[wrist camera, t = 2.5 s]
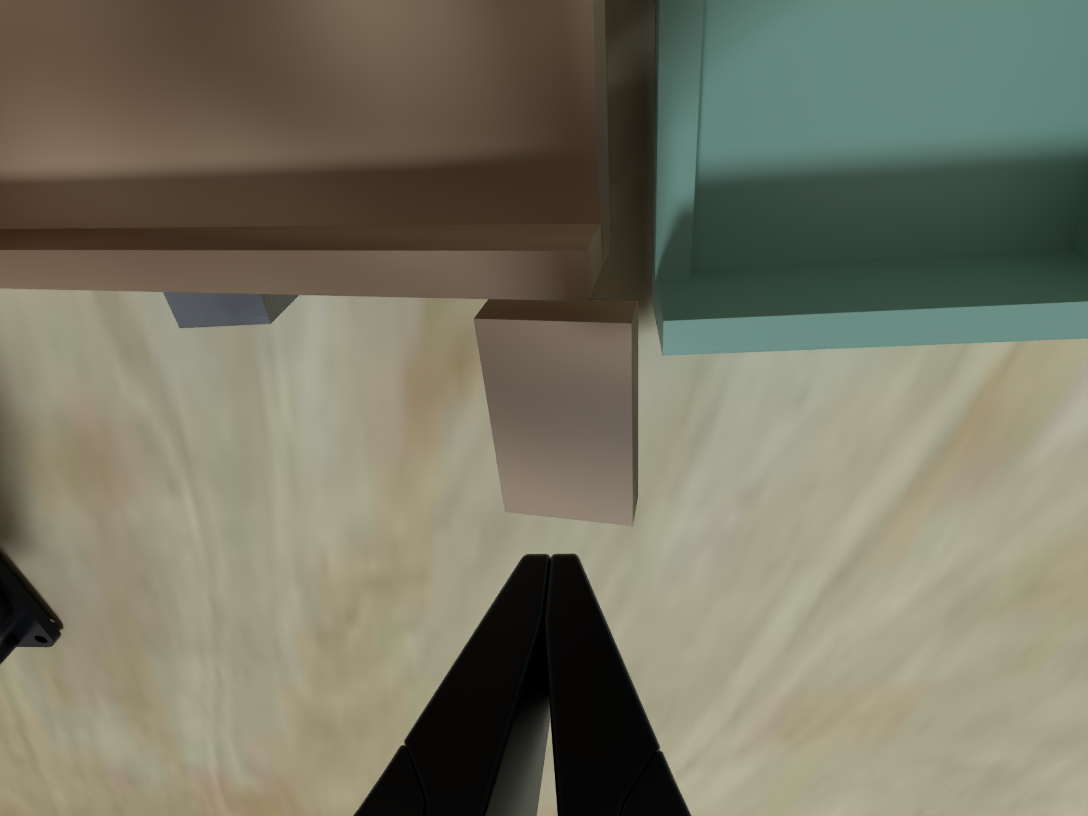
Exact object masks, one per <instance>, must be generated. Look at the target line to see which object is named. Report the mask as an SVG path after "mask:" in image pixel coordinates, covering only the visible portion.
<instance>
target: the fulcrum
mask: <svg viewBox="0 0 1088 816" xmlns="http://www.w3.org/2000/svg"><path fill="white" fill-rule="evenodd" d="M163 293H164V295H165V297H166V299H167V301H168V304H169V306H170V308H171V310H172V312H173V315H174V317H175V319H176V321H177V323H178V325H179V328H193V327H213V326H234V325H254V324H271V323H272V322H273V321H274V320H275V319H276V318H277V317H278V316H279V315H280V314H281V313H282V312H283V311H284V310H285V309H286V308H287V307H288V306H289V305H290V304H291V303H292V302H293V301H294V300H295V299H296V298H297V297H298V296H299V295H286V294H240V293H195V292H163Z"/></svg>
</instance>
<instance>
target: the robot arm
mask: <svg viewBox="0 0 1088 816" xmlns="http://www.w3.org/2000/svg"><path fill="white" fill-rule="evenodd" d="M60 636H61V633H60V631H59V630H58V629H57V627H56V626H55V625H54V624H53V623H52V621H51V620H50V619H49V618H48V617H47V615H46V614H45V613H44V612H43V611H42V609H41V608H40V607H39V606H38V605H37V603H36V602H35V601H34V600H33V599H32V597H31V596H30V595H29V594H28V592H27V591H26V590H25V589H24V588H23V586H22V585H21V584H20V583H19V582H18V580H17V579H16V578H15V577H14V576H13V574H12V573H11V572H10V571H9V570H8V568H7V567H6V566H5V565H4V564H3V562H2V561H1V560H0V665H1V663H2V662H3V661H4V660H5V659H6V658H7V657H8V656H9V654H10V653H11V652H12V651H13V650H14V649H15V648H16V647H51V646H53V645H54V644H55V642H56V641H57V640H58V639H59V638H60ZM550 718H551V731H552V744H553V758H554V771H555V784H556V797H557V811H558V816H691V814H690V812H689V810H688V808H687V805H686V803H685V801H684V799H683V797H682V795H681V793H680V790H679V788H678V786H677V784H676V782H675V780H674V777H673V775H672V773H671V770H670V768H669V766H668V764H667V761H666V759H665V757H664V754H663V752H662V751H660V746H659V743H658V741H657V739H656V736H655V734H654V732H653V729H652V727H651V725H650V722H649V720H648V718H647V715H646V713H645V711H644V708H643V706H642V704H641V701H640V699H639V697H638V694H637V692H636V690H635V687H634V685H633V683H632V680H631V678H630V676H629V673H628V671H627V669H626V666H625V664H624V662H623V659H622V657H621V655H620V652H619V650H618V648H617V645H616V643H615V641H614V638H613V636H612V634H611V631H610V629H609V627H608V624H607V622H606V620H605V617H604V615H603V613H602V610H601V608H600V606H599V603H598V601H597V599H596V596H595V594H594V592H593V589H592V587H591V585H590V582H589V580H588V578H587V575H586V573H585V571H584V568H583V566H582V564H581V562H580V559H579V557H578V556H577V555H576V554H554V555H552V557H550V556H549V555H547V554H527V555H525V556H523V557H522V559H521V560H520V562H519V563H518V565H517V566H516V568H515V569H514V571H513V572H512V574H511V576H510V577H509V579H508V580H507V582H506V583H505V585H504V586H503V588H502V590H501V591H500V593H499V594H498V596H497V597H496V599H495V600H494V602H493V604H492V605H491V607H490V608H489V610H488V611H487V613H486V614H485V616H484V617H483V619H482V621H481V622H480V624H479V625H478V627H477V628H476V630H475V631H474V633H473V635H472V636H471V638H470V639H469V641H468V642H467V644H466V645H465V647H464V649H463V650H462V652H461V653H460V655H459V656H458V658H457V659H456V661H455V663H454V664H453V666H452V667H451V669H450V670H449V672H448V673H447V675H446V676H445V678H444V680H443V681H442V683H441V684H440V686H439V687H438V689H437V690H436V692H435V694H434V695H433V697H432V698H431V700H430V701H429V703H428V704H427V706H426V708H425V709H424V711H423V712H422V714H421V715H420V717H419V718H418V720H417V722H416V723H415V725H414V726H413V728H412V729H411V731H410V732H409V734H408V736H407V737H406V739H405V741H404V743H405V745H402V746H400V747H399V749H398V751H397V752H396V754H395V755H394V757H393V758H392V760H391V762H390V763H389V765H388V766H387V768H386V769H385V771H384V772H383V774H382V775H381V777H380V778H379V780H378V781H377V783H376V784H375V786H374V787H373V788H372V790H371V791H370V793H369V794H368V796H367V797H366V799H365V800H364V802H363V803H362V805H361V806H360V807H359V809H358V810H357V812H356V813H355V814H354V815H353V816H537V809H538V802H539V794H540V787H541V780H542V773H543V766H544V759H545V751H546V744H547V737H548V730H549V723H550Z"/></svg>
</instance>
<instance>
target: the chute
mask: <svg viewBox="0 0 1088 816" xmlns="http://www.w3.org/2000/svg"><path fill="white" fill-rule="evenodd" d="M610 251H611V232H610V192H609V151H608V110H607V69H606V29H605V0H0V288H13V289H59V290H104V291H149V292H195V293H240V294H286V295H331V296H376V297H422V298H467V299H488V301H487V302H486V303H485V305H484V306H483V307H482V309H481V310H480V311H479V313H478V314H477V315H476V317H475V318H474V322H475V329H476V335H477V341H478V347H479V353H480V359H481V366H482V372H483V378H484V384H485V390H486V396H487V403H488V409H489V415H490V421H491V427H492V433H493V440H494V446H495V452H496V458H497V464H498V471H499V477H500V483H501V489H502V495H503V501H504V508H505V512H512V513H521V514H530V515H539V516H548V517H556V518H565V519H574V520H583V521H592V522H601V523H610V524H619V525H628V526H633V522H634V516H635V510H636V505H637V499H638V300H597V299H590V296H591V294H592V292H593V289H594V287H595V285H596V283H597V280H598V278H599V276H600V273H601V271H602V269H603V267H604V264H605V262H606V260H607V257H608V255H609V253H610Z"/></svg>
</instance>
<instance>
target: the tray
mask: <svg viewBox="0 0 1088 816" xmlns="http://www.w3.org/2000/svg"><path fill="white" fill-rule="evenodd" d="M652 303H653V308H654V313H655V318H656V324H657V329H658V334H659V339H660V344H661V350H662V355H663V356H665V355H690V354H714V353H739V352H763V351H788V350H812V349H837V348H861V347H886V346H910V345H935V344H959V343H984V342H1008V341H1033V340H1057V339H1082V338H1088V0H656V8H655V81H654V154H653V227H652Z"/></svg>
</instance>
